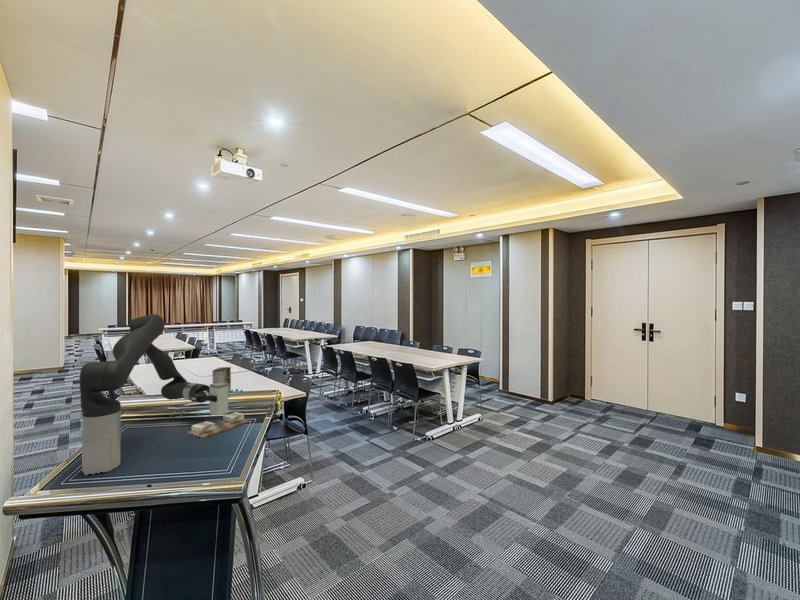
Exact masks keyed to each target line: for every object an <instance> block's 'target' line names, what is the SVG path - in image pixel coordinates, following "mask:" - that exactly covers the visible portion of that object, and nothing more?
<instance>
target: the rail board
mask: <svg viewBox="0 0 800 600" xmlns="http://www.w3.org/2000/svg"><path fill="white" fill-rule="evenodd" d="M247 422H248V423H249V421H248V420H245V414H244V413H242V412H241V413H240V412H237V411H236V412H235V411H234V412H232V413H227V414H224V415H223V416H222V420H220V421H217V422H211V421H207V420H205V421H203V422H202V421H201V422H199V423H195V424H192V425H191V430H189V431H187V435H188V434H190V435H189V436H191V435H193V436H192V437H195V436H197V437H196V438H198V437H200V438H199V439H202V438H204V439H206V438H205V437H207V436H210V437H212V436H211V435H213V436H215V435H214V434H216V433H218V434H220V433H219V432H221V433H223V432H222V431H224V432H227V431H229V430H228V429H230V430H232V429H231V428H233V427H236V426H238V427H240V426H239V425H241V424H244V423H247ZM248 423H247V424H248ZM244 425H245V424H244ZM241 426H242V425H241ZM236 428H237V427H236ZM233 429H234V428H233ZM226 430H227V431H226ZM216 435H217V434H216ZM207 438H208V437H207Z"/></svg>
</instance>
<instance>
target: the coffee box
mask: <svg viewBox="0 0 800 600" xmlns="http://www.w3.org/2000/svg"><path fill="white" fill-rule="evenodd" d="M231 373H232V372H231V366H228V367H227V366H226V367H225V366H224V367H223V366H222V367H217V368H215V369H213V370H212V384H214V383H219V382H221V383H227V384H228V392H231V390H232V388H231V386H232V385H231V384H232V382H231V380H232V378H231V375H232V374H231Z"/></svg>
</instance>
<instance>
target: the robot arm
mask: <svg viewBox="0 0 800 600" xmlns="http://www.w3.org/2000/svg"><path fill="white" fill-rule="evenodd" d="M164 330H165V321H164V319H163V317H161V315H159V314H157V313H156V314H154V313H153V314H148V315H143V316H139V317H135V318H132V319H131V320H130V321H129V331H130V332H129V331H128V333H126V334H124V335H122V336H121V337H120V338H119V340H117V341H116V343H115V344H114V346H113V348H112V355H113V358H114V359H115V360H111V361H110V360H109V361H91V362H87V363H85V364H84V365H83V366H82V368H81V370H80V373H79V389H80V390H79V392H80V408H81V412H82V413H81V414H82V415H81V417H82V419H81V424H82V425H81V427H82V428H81V473H82V472H83V473H84V474H83V473H82V474H83V475H86V474H87V475H86V476H89V475H88V474H92V475H96V474H95V473H98V474H101V473H100V472H103V473H108V471H109V472H111V471H112V470H114V469H116V468H118V467H119V466H120V465H121V420H122V419H121V416H122V415H121V412H122V411H121V406H122V405H121V401H119V400H117V399H113V398H109V397H107V396H105V395H103V394H102V393H101V392H108V391H109V392H110V391H111V392H112V391H116V390H119V389H121V388H123V386H124V385H125V383H126V382H127V380H128V378H129V377H130V374H131V372H133V369H134V368H135V366H136V364H137V363H138V362H139V360H140V359H142V357H143V356H144V354H145V355H146V356H147V357H148V359H149V360H150V361H151V364H152V365H153V367H154V370H155V371H156V374H157V375H158V378H159V379H160V380H161V381H168V380H171V379H172V380H171V381H169V382H167V383H166V384H164V385H163V386H162V387H161V390H160V394H161V396H162V397H163V398H165V399H167V400H173V399H174V400H180V399H185V400H187V401H191V402H192V403H199V404H201V403H205V402H209V403H210V401H212V402H217V396H213V395H210V385H207V384H204V383H198V382H190V381H187V380H186V378H184V377H183V375H182V374H181V372H180V371H178V369H177V367H176V365H175V363H174V360H173V359H172V357H171V356H170V355H169V354H168V353H166V352H165V351H163V350H162V349H161V348H159V347H157V346H155V345H154V344H153V342H154V341H155V340H156V339H157V338H159V336H160V335H162V334H163V332H164ZM228 397H229V398H230V396H229V394H228Z"/></svg>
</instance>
